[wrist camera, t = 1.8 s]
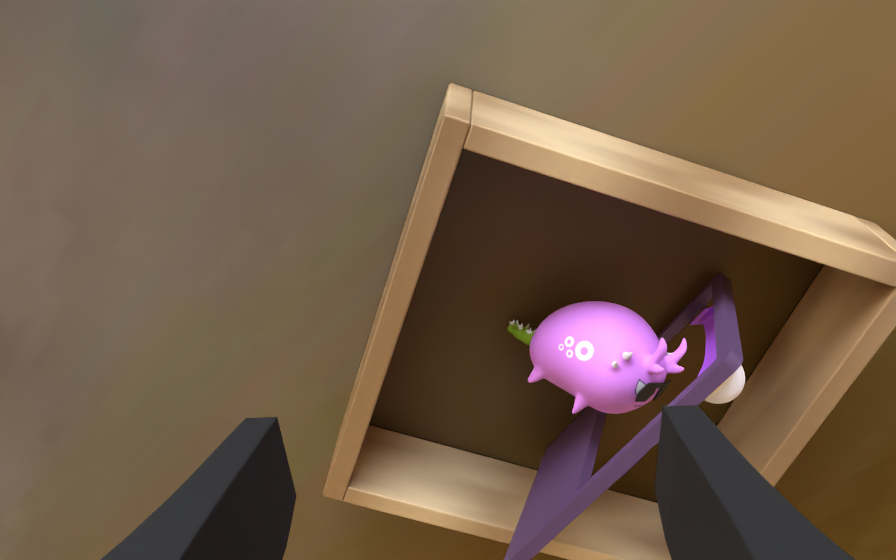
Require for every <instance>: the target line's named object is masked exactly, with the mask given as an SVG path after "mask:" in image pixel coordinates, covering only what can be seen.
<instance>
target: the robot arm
mask: <svg viewBox="0 0 896 560" xmlns="http://www.w3.org/2000/svg"><path fill="white" fill-rule="evenodd" d="M655 492H656V497H657V502H658V507H659V512H660V517H661V522H662V527H663V531H664V536H665V540H666V544H667V547H668V550H669V553H670V556H671V559H672V560H855V559H854V558H852V557H851V556H850V555H849V554H847V553H846V552H845V551H844V550H842V549H841V548H840V547H839V546H837V545H836V544H835V543H834V542H832V541H831V540H830V539H829V538H828V537H827V536H826V535H824V534H823V533H822V532H821V531H820V530H819V529H817V528H816V527H815V526H814V525H813V524H812V523H811V522H810V521H809V520H808V519H807V518H805V517H804V516H803V515H802V514H801V513H800V512H799V511H798V510H797V509H796V508H794V507H793V506H792V505H791V504H790V503H789V502H788V501H787V500H786V499H785V498H784V497H783V496H782V495H781V494H780V493H779V492H778V491H777V490H776V489H775V488H774V487H773V486H772V485H771V484H770V483H769V482H768V481H767V480H766V479H765V478H764V477H763V476H762V475H761V474H760V473H759V472H758V471H757V470H756V469H755V468H754V467H753V466H752V465H751V464H750V463H749V462H748V461H747V459H746V458H745V457H744V456H743V455H742V454H741V453H740V452H739V451H738V450H737V449H736V448H735V447H734V445H733V444H732V443H731V442H730V441H729V440H728V439H727V438H726V437H725V436H724V434H723V433H722V432H721V431H720V430H719V429H718V428H717V427H716V425H715V424H714V423H713V422H712V421H711V420H710V419H709V417H708V416H707V415H706V414H705V413H704V412H703V411H702V410H701V409H700V408H699V407H698V406H697V405H683V406H662V416H661V427H660V437H659V448H658V458H657V469H656V480H655ZM295 500H296V492H295V488H294V484H293V480H292V476H291V472H290V468H289V464H288V460H287V456H286V452H285V448H284V443H283V439H282V435H281V431H280V427H279V423H278V419H277V417H268V418H246V419H245V420H244V421H243V422H242V423H241V424H240V425H239V426H238V427H237V428H236V429H235V430H234V431H233V432H232V433H231V434H230V435H229V436H228V437H227V438H226V439H225V440H224V441H223V443H222V444H221V445H220V446H219V447H218V448H217V449H216V450H215V451H214V452H213V453H212V454H211V455H210V456H209V457H208V458H207V459H206V460H205V462H204V463H203V464H202V465H201V466H200V467H199V468H198V469H197V470H196V471H195V472H194V473H193V474H192V475H191V476H190V477H189V478H188V479H187V480H186V481H185V482H184V483H183V484H182V485H181V486H180V487H179V488H178V489H177V490H176V491H175V492H174V493H173V494H172V495H171V496H170V497H169V498H168V499H167V500H166V501H165V502H164V503H163V504H162V505H161V506H160V507H159V508H158V509H157V510H156V511H154V512H153V513H152V514H151V515H150V516H149V517H148V518H147V519H146V520H145V521H144V522H143V523H142V524H141V525H139V526H138V527H137V528H136V529H135V530H134V531H133V532H132V533H131V534H130V535H129V536H128V537H126V538H125V539H124V540H123V541H122V542H121V543H120V544H118V545H117V546H116V547H115V548H114V549H112V550H111V551H110V552H109V553H108V554H106V555H105V556H104V557H103V558H101V559H100V560H282V559H283V555H284V552H285V549H286V546H287V541H288V536H289V531H290V527H291V522H292V516H293V511H294V505H295Z"/></svg>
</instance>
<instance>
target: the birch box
mask: <svg viewBox="0 0 896 560" xmlns="http://www.w3.org/2000/svg"><path fill="white" fill-rule="evenodd" d="M463 148H464V149H466V150H469V151H472V152H475V153H478V154H481V155H484V156H487V157H490V158H494V159H497V160H500V161H503V162H506V163H509V164H512V165H515V166H519V167H522V168H525V169H528V170H531V171H534V172H537V173H540V174H543V175H547V176H550V177H553V178H556V179H559V180H562V181H565V182H568V183H572V184H575V185H578V186H581V187H584V188H587V189H590V190H593V191H596V192H600V193H603V194H606V195H609V196H612V197H615V198H618V199H621V200H625V201H628V202H631V203H634V204H637V205H640V206H643V207H646V208H649V209H653V210H656V211H659V212H662V213H665V214H668V215H671V216H674V217H678V218H681V219H684V220H687V221H690V222H693V223H696V224H699V225H702V226H706V227H709V228H712V229H715V230H718V231H721V232H724V233H727V234H731V235H734V236H737V237H740V238H743V239H746V240H749V241H752V242H755V243H759V244H762V245H765V246H768V247H771V248H774V249H777V250H780V251H784V252H787V253H790V254H793V255H796V256H799V257H802V258H805V259H808V260H812V261H815V262H818V263H821V264H824V266H823V267H822V269H821V270H820V272H819V273H818V275H817V276H816V278H815V279H814V281H813V282H812V284H811V286H810V287H809V289H808V290H807V292H806V293H805V295H804V296H803V298H802V299H801V301H800V302H799V304H798V305H797V307H796V308H795V310H794V311H793V313H792V314H791V316H790V317H789V319H788V320H787V322H786V323H785V325H784V326H783V328H782V329H781V331H780V332H779V334H778V335H777V337H776V338H775V340H774V341H773V343H772V344H771V346H770V347H769V349H768V350H767V352H766V353H765V355H764V356H763V358H762V359H761V361H760V362H759V364H758V365H757V367H756V368H755V370H754V371H753V373H752V374H751V376H750V377H749V379H748V380H747V382H746V383H745V385H744V387H743V390H742V391H741V393H740V394H739V395H738V396H737V397H736V398H735V400H734V401H733V403H732V404H731V406H730V407H729V409H728V410H727V412H726V413H725V415H724V416H723V418H722V419H721V421H720V422H719V424H718V425H717V428H718V429H719V430H720V431H721V432H722V433H723V434H724V436H725V437H726V438H727V439H728V440H729V441H730V442H731V443H732V444H733V445H734V447H735V448H736V449H737V450H738V451H739V452H740V453H741V454H742V455H743V456H744V457H745V458H746V459H747V461H748V462H749V463H750V464H751V465H752V466H753V467H754V468H755V469H756V470H757V471H758V472H759V473H760V474H761V475H762V476H763V477H764V478H765V479H766V480H767V481H768V482H769V483H770V484H771V485H772V486H773V487H774V486H775V485H776V483H777V482H778V481H779V479H780V478H781V477H782V475H783V474H784V473H785V472H786V470H787V469H788V468H789V466H790V465H791V464H792V462H793V461H794V460H795V458H796V457H797V456H798V454H799V453H800V452H801V450H802V449H803V448H804V447H805V445H806V444H807V443H808V441H809V440H810V439H811V437H812V436H813V435H814V433H815V432H816V431H817V429H818V428H819V427H820V425H821V424H822V423H823V422H824V420H825V419H826V418H827V416H828V415H829V414H830V412H831V411H832V410H833V408H834V407H835V406H836V404H837V403H838V402H839V400H840V399H841V398H842V397H843V395H844V394H845V393H846V391H847V390H848V389H849V387H850V386H851V385H852V383H853V382H854V381H855V379H856V378H857V377H858V375H859V374H860V373H861V372H862V370H863V369H864V368H865V366H866V365H867V364H868V362H869V361H870V360H871V358H872V357H873V356H874V354H875V353H876V352H877V350H878V349H879V348H880V347H881V345H882V344H883V343H884V341H885V340H886V339H887V337H888V336H889V335H890V333H891V332H892V331H893V329H894V328H895V327H896V240H895V239H893V238H892V237H891V236H890V235H889V234H887V233H886V232H885V231H884V230H883V229H882V228H880V227H879V226H878V225H877V224H876V223H873V222H870V221H867V220H864V219H861V218H856V217H855V216H852V215H849V214H846V213H843V212H840V211H837V210H834V209H831V208H828V207H825V206H822V205H819V204H816V203H813V202H810V201H807V200H804V199H801V198H798V197H794V196H791V195H788V194H785V193H782V192H779V191H776V190H773V189H770V188H767V187H764V186H761V185H758V184H755V183H752V182H749V181H746V180H743V179H740V178H737V177H734V176H731V175H728V174H725V173H722V172H719V171H716V170H713V169H710V168H707V167H704V166H701V165H698V164H695V163H692V162H689V161H686V160H683V159H680V158H677V157H674V156H671V155H668V154H665V153H662V152H659V151H656V150H653V149H649V148H646V147H643V146H640V145H637V144H634V143H631V142H628V141H625V140H622V139H619V138H616V137H613V136H610V135H607V134H604V133H601V132H598V131H595V130H592V129H589V128H586V127H583V126H580V125H577V124H574V123H571V122H568V121H565V120H562V119H559V118H556V117H553V116H550V115H547V114H544V113H541V112H538V111H535V110H532V109H529V108H526V107H523V106H520V105H517V104H514V103H511V102H508V101H504V100H501V99H498V98H495V97H492V96H489V95H486V94H483V93H480V92H477V91H473V92H472V90H471V89H468V88H465V87H462V86H459V85H456V84H453V83H450V84H449V85H448V88H447V91H446V94H445V97H444V101H443V104H442V107H441V110H440V113H439V116H438V120H437V123H436V126H435V129H434V132H433V136H432V139H431V142H430V145H429V148H428V151H427V155H426V158H425V161H424V164H423V167H422V171H421V174H420V177H419V180H418V183H417V186H416V190H415V193H414V196H413V199H412V202H411V206H410V209H409V212H408V215H407V218H406V221H405V225H404V228H403V231H402V234H401V237H400V241H399V244H398V247H397V250H396V253H395V256H394V260H393V263H392V266H391V269H390V272H389V276H388V279H387V282H386V285H385V288H384V291H383V295H382V298H381V301H380V304H379V307H378V311H377V314H376V317H375V320H374V323H373V326H372V330H371V333H370V336H369V339H368V342H367V346H366V349H365V352H364V355H363V358H362V361H361V365H360V368H359V371H358V374H357V377H356V381H355V384H354V387H353V390H352V393H351V396H350V400H349V403H348V406H347V409H346V412H345V416H344V419H343V422H342V425H341V428H340V431H339V435H338V439H337V443H336V446H335V450H334V454H333V458H332V461H331V465H330V469H329V473H328V477H327V480H326V484H325V488H324V492H323V496H324V497H328V498H332V499H336V500H340V501H342V500H344V502H347V503H351V504H355V505H359V506H362V507H366V508H370V509H374V510H378V511H382V512H386V513H390V514H394V515H397V516H401V517H405V518H409V519H413V520H417V521H421V522H425V523H429V524H432V525H436V526H440V527H444V528H448V529H452V530H456V531H460V532H464V533H467V534H471V535H475V536H479V537H483V538H487V539H491V540H495V541H499V542H502V543H506V544H510V542H511V539H512V537H513V534H514V532H515V529H516V526H517V524H518V521H519V518H520V516H521V513H522V511H523V508H524V505H525V503H526V500H527V497H528V495H529V492H530V490H531V487H532V484H533V482H534V479H535V476H536V474H537V470H533V469H530V468H526V467H522V466H518V465H515V464H511V463H507V462H504V461H500V460H496V459H493V458H489V457H485V456H482V455H478V454H474V453H470V452H467V451H463V450H459V449H456V448H452V447H448V446H445V445H441V444H437V443H434V442H430V441H426V440H422V439H419V438H415V437H411V436H408V435H404V434H400V433H397V432H393V431H389V430H385V429H382V428H378V427H374V426H371V425H369V423H370V420H371V417H372V414H373V411H374V408H375V405H376V402H377V399H378V396H379V393H380V390H381V387H382V384H383V381H384V378H385V375H386V373H387V370H388V367H389V364H390V361H391V358H392V355H393V352H394V349H395V346H396V343H397V340H398V337H399V334H400V331H401V328H402V325H403V322H404V320H405V317H406V314H407V311H408V308H409V305H410V302H411V299H412V296H413V293H414V290H415V287H416V284H417V281H418V278H419V275H420V272H421V269H422V267H423V264H424V261H425V258H426V255H427V252H428V249H429V246H430V243H431V240H432V237H433V234H434V231H435V228H436V225H437V222H438V219H439V216H440V214H441V211H442V208H443V205H444V202H445V199H446V196H447V193H448V190H449V187H450V184H451V181H452V178H453V175H454V172H455V169H456V166H457V163H458V161H459V158H460V155H461V152H462V149H463ZM539 552H541V553H545V554H549V555H553V556H557V557H561V558H565V559H569V560H672V559H671V556H670V553H669V550H668V547H667V544H666V540H665V536H664V531H663V527H662V522H661V517H660V512H659V507H658V503H655V502H651V501H648V500H644V499H640V498H637V497H633V496H629V495H626V494H622V493H618V492H615V491H611V490H606V491H605V492H604V493H602V494H601V495H600V496H599V497H598V498H597V499H596V500H595V501H594V502H593V503H592V504H590V505H589V506H588V507H587V508H586V509H585V510H584V511H583V512H582V513H581V514H580V515H579V516H577V517H576V518H575V519H574V520H573V521H572V522H571V523H570V524H569V525H568V526H567V527H565V528H564V529H563V530H562V531H561V532H560V533H559V534H558V535H557V536H556V537H555V538H554V539H552V540H551V541H550V542H549V543H548V544H547V545H546V546H545V547H544V548H543V549H542V550H540V551H539Z"/></svg>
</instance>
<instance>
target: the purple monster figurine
mask: <svg viewBox="0 0 896 560" xmlns="http://www.w3.org/2000/svg"><path fill="white" fill-rule="evenodd" d="M712 299H713V307H710V308H708V307H706V308H705V309H704V310H703V311H702V312H701V313H700V314H699V315H698V316H697V317H696V318H695V319H694V320H693V321H692V322H691V323H690V325H697V324H703V325H704V328H705V334H706V349H705V359H704V363H703V366H702V368H701V370H700V372H699V374H698V377H697V378H696V379H695V380H694V381H693V382H692V383H691V384H690V385H689V386H688V387H687V388H685V389H684V390H683V391H682V392H681V393H680V394H679V395H678V396H677V397H676V398H675V399H674V400H673V401H672V402H671V403H670V404H669V405H667V406H683V405H697V406H698V405H699V404H700V403H701V402H703V401H704V400H705V401H707V402H710V403H715V404H722V403H727V402H729V401H732V400H733V399H735V398H736V397H737V396H738V395H739V394H740V393H741V391H742V390H743V387H744V384H745V373H744V369H743V367H742V365H741V364H742V362H743V355H742V348H741V342H740V336H739V329H738V323H737V317H736V310H735V304H734V298H733V291H732V285H731V280H730V279H729V278H727V277H726V276H725V275H723V274H722V273H719V274H717V275H716V276H715V277H714V278H713V279H712V280H711V281H710V282H709V283H708V284H707V285H706V286H705V287H704V288H703V289H702V290H701V291H700V292H699V293H698V294H697V295H696V296H695V297H694V298H693V299H692V301H691V302H690V303H689V304H688V305H687V306H686V307H685V308H684V309H683V310H682V311H681V312H680V313H679V314H678V315H677V316H676V317H675V318H674V319H673V320H672V321H671V322H670V323H669V324H668V325H667V326H666V327H665V328H664V329H663V330H662V331H661V332H660V333H659V334H658V335H656V334H655V332H654V331H653V330H652V328H651V327H650V326H649V324H648V323H647V322H646V321H645V320H644V319H643V318H642V317H641V316H639V315H638V314H637V313H635V312H634V311H632V310H630V309H628V308H626V307H624V306H621V305H618V304H615V303H610V302H601V301H587V302H579V303H575V304H571V305H568V306H565V307H563V308H560V309H558V310H557V311H555V312H553V313H552V314H550V315H549V316H548V317H547V318H546V319H545V320H544V321H543V322H542V323H541V324H540V325H539V326H538V328H537V329H536V328H535V329H534V331H531V327H530V329H529V324H528V325H527V326H526V327H523V323H522V324H521V325H519V324H518V320H517V321H516V322H515V323H514V320H513V321H512V322H511V321H509V323H510V325H509V326H508V328H507V329H508V332H509V333H511V334H513V335H514V336H515V337H516V338H517V339H518V340H520V341H523V342H524V343H525V344H526V345H528V346H530V357H531V361H532V363H533V365H534V369H533V371H532V373H531V374H530V376H529V378H528V382H529V383H533V382H537V381H539V380H541V379H547V380H548V381H550V382H551V383H553V384H555V385H556V386H558V387H560V388H562V389H563V390H565V391H567V392H568V393H570V394H572V395H573V396H575V397H576V398H575V402H574V406H573V410H572V413H573V414H575V413H577V412H579V411H580V410H582V409H583V408H585V407H586V408H585V409H584V410H583V411H582V412H581V413H580V414H579V415H578V416H577V417H576V418H575V419H574V420H573V421H572V423H571V424H570V425H569V426H568V427H567V428H566V429H565V430H564V431H563V432H562V433H561V434H560V435H559V436H558V437H557V438H556V439H555V440H554V441H553V442H552V443H551V444H550V445H549V446H548V447H547V449H546V450H545V453H544V455H543V458H542V461H541V463H540V466H539V469H538V471H537V474H536V476H535V479H534V482H533V484H532V487H531V490H530V492H529V495H528V497H527V500H526V503H525V505H524V508H523V511H522V513H521V516H520V518H519V521H518V524H517V526H516V529H515V532H514V534H513V537H512V539H511V542H510V545H509V547H508V550H507V553H506V555H505V558H504V560H531V559H532V558H533V557H534V556H535V555H536V554H537V553H538V552H539V551H540V550H542V549H543V548H544V547H545V546H546V545H547V544H548V543H549V542H550V541H551V540H552V539H554V538H555V537H556V536H557V535H558V534H559V533H560V532H561V531H562V530H563V529H564V528H565V527H567V526H568V525H569V524H570V523H571V522H572V521H573V520H574V519H575V518H576V517H577V516H579V515H580V514H581V513H582V512H583V511H584V510H585V509H586V508H587V507H588V506H589V505H590V504H592V503H593V502H594V501H595V500H596V499H597V498H598V497H599V496H600V495H601V494H602V493H604V492H605V491H606V490H607V489H608V488H609V487H610V486H611V485H612V484H613V483H614V482H616V481H617V480H618V479H619V478H620V477H623V476H624V475H625V474H626V473H627V472H628V471H629V470H631V469H632V468H633V467H634V466H635V465H636V464H637V463H638V462H639V461H640V460H641V459H642V458H643V456H644V455H645V454H646V453H647V452H648V451H649V450H650V449H651V448H652V447H654V446H655V445H656V444H657V443H658V442H659V437H660V427H661V416H662V411H661V412H660V413H659V414H658V415H657V416H656V417H655V418H654V419H653V420H652V421H651V422H649V423H648V424H647V425H646V426H645V427H644V428H643V429H642V430H641V431H640V432H639V433H638V434H637V435H636V436H635V437H634V438H633V439H631V440H630V441H629V442H628V443H627V444H626V445H625V446H624V447H623V448H622V449H621V450H620V451H619V452H618V453H617V454H616V455H615V456H613V457H612V458H611V459H610V460H609V461H608V462H607V463H606V464H605V465H604V466H603V467H602V468H601V469H600V470H599V471H598V472H597V473H595V474H594V475H593V476H592V477H591V475H592V471H593V467H594V463H595V459H596V455H597V451H598V447H599V443H600V439H601V435H602V431H603V426H604V422H605V418H606V414H607V413H610V414H620V413H625V412H629V411H632V410H635V409H637V408H639V407H641V406H643V405H645V404H647V403H648V402H650V401H651V400H652V399H653V398H654V397H655V398H654V399H653V401H654V400H656V399H657V398H659V397H660V395H661V394H662V393H663V392H664V390H665V389H666V388H667V386H668V384H669V383H670V381H671V380H669V381H667V382H666V383H664V382H665V378H666V374H667V373H680V372H682V371H683V370H684V368H683V367H681V366H678V365H677V362H678V361H679V360H680V359H681V357H682V356H683V355H684V354H685V352H686V350H687V342H686V340H685V338H683V340H682V342H681V344H680V346H679V348H678V349H677V350H676V351H675V352H674V353H667V344H668V343H669V342H670V341H671V340H672V339H673V338H674V337H675V336H676V335H677V334H678V333H679V332H680V331H681V330H682V329H683V328H684V327H685V326H686V325H687V324H688V323H689V322H690V321H691V320H692V319H693V318H694V317H695V316H696V315H697V314H698V313H699V312H700V311H701V310H702V309H703V308H704V307H705V306H706V305H707V304H708V303H709V302H710V301H711V300H712Z"/></svg>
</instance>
